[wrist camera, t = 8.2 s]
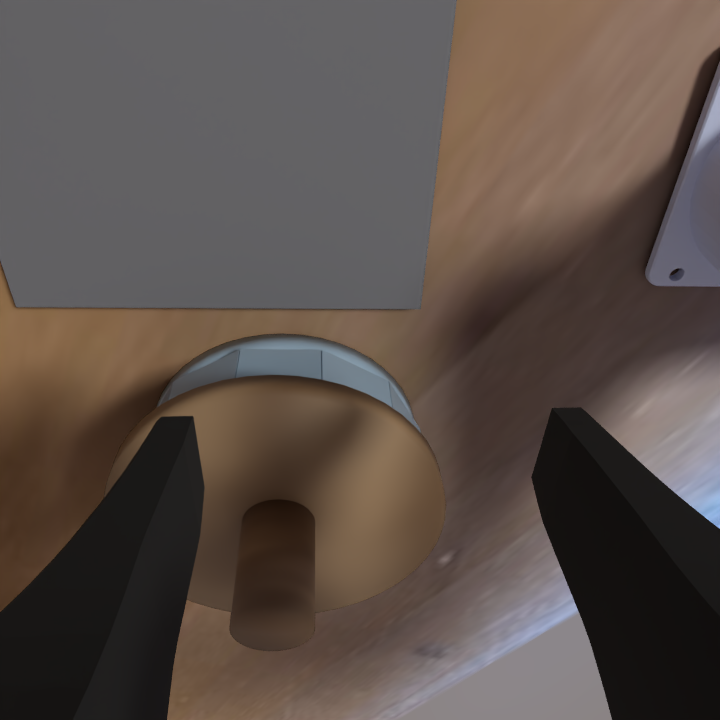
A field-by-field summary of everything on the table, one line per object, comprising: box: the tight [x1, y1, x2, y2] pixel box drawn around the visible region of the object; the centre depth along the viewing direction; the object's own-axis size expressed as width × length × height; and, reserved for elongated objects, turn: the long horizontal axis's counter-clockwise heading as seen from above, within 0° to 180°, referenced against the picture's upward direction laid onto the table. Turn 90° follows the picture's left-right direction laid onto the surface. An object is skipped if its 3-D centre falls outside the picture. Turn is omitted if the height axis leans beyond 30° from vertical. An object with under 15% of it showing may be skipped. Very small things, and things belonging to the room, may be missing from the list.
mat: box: [0, 0, 457, 309], centre depth 18 cm, size 14×14×1 cm
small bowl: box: [156, 334, 421, 433], centre depth 25 cm, size 11×11×4 cm
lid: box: [104, 375, 446, 651], centre depth 21 cm, size 12×12×5 cm
